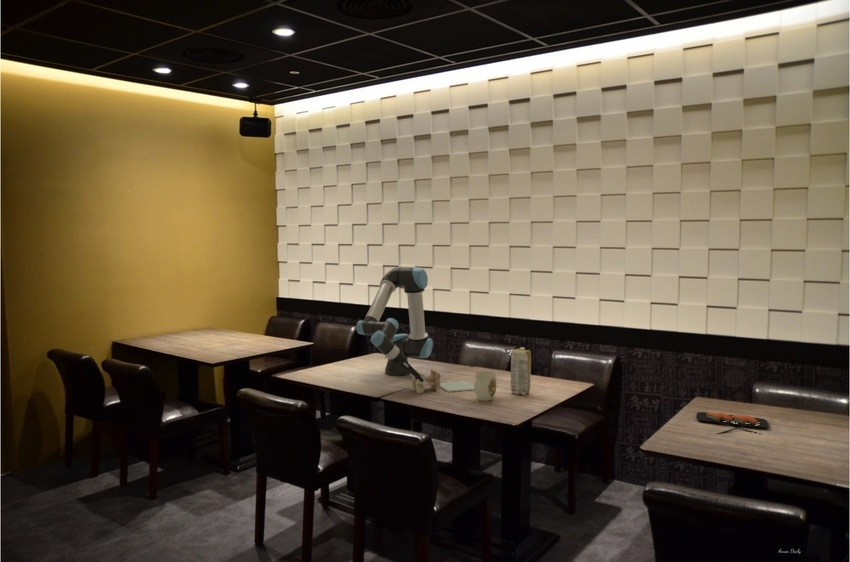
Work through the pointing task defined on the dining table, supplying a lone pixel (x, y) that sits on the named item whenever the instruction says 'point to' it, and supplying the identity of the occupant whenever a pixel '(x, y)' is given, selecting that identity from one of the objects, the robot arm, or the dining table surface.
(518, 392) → the juice carton
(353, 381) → the dining table surface
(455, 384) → the mat
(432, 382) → the stool
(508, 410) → the dining table surface
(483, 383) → the cream mug
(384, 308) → the robot arm
